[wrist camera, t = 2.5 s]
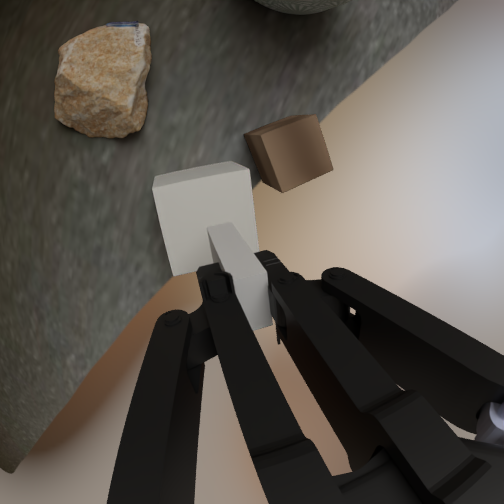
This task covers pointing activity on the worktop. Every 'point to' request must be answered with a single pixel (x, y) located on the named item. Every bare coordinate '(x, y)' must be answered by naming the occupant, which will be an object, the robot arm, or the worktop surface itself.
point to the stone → (104, 80)
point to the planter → (301, 5)
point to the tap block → (203, 211)
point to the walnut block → (289, 151)
